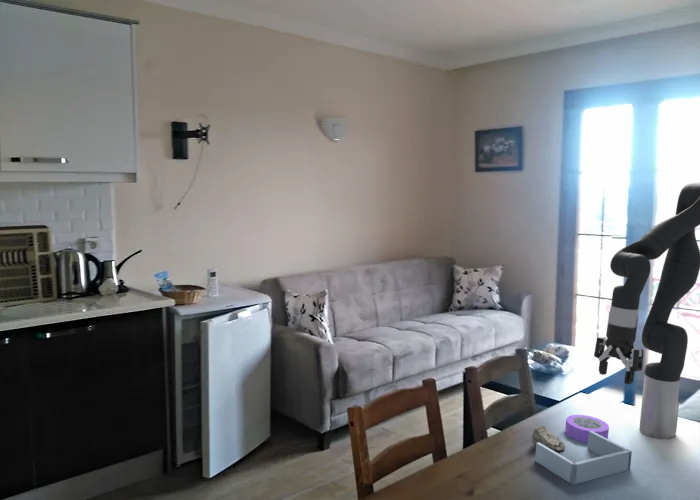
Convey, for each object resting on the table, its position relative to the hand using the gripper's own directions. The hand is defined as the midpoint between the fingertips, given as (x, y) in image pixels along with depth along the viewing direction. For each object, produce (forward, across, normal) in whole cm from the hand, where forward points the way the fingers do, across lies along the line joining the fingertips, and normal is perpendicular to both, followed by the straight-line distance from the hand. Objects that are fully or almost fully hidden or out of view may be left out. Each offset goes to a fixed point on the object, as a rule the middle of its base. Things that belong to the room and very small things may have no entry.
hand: (614, 378), depth 167 cm
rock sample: (+20, +4, +19) cm, 27 cm away
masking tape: (+19, +5, +3) cm, 20 cm away
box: (+19, -8, +19) cm, 28 cm away
